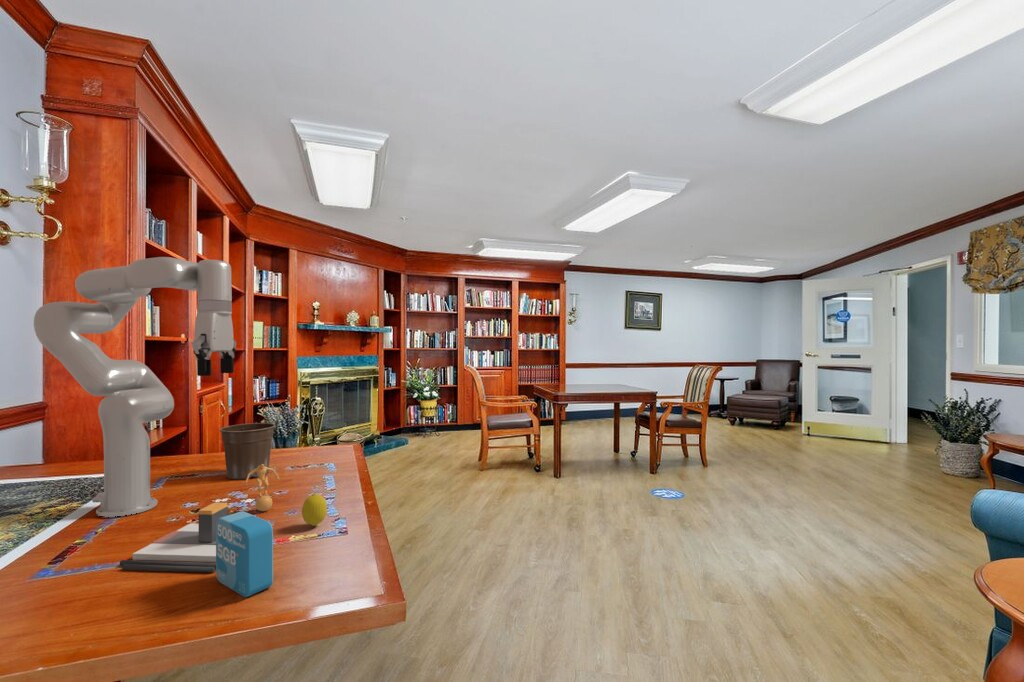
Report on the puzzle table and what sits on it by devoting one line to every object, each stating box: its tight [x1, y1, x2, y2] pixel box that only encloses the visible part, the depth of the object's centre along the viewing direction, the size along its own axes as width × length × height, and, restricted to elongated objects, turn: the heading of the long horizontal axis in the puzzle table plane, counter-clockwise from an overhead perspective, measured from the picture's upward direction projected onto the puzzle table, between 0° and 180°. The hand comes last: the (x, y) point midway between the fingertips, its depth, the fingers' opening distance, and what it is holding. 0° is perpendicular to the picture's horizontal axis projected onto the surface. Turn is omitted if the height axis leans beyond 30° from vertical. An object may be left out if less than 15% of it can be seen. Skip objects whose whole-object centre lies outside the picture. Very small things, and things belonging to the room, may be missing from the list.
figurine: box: [244, 464, 280, 512], centre depth 125 cm, size 8×6×12 cm
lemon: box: [301, 492, 328, 527], centre depth 114 cm, size 6×6×8 cm
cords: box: [119, 559, 216, 574], centre depth 93 cm, size 20×3×1 cm, turn 86°
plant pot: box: [219, 422, 276, 481], centre depth 158 cm, size 16×16×16 cm
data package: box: [215, 510, 274, 598], centre depth 87 cm, size 12×4×12 cm, turn 55°
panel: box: [132, 522, 216, 563], centre depth 104 cm, size 20×16×1 cm
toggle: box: [198, 502, 228, 542], centre depth 104 cm, size 3×5×7 cm, turn 176°
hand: (216, 374), depth 123 cm, fingers open, 9 cm apart
